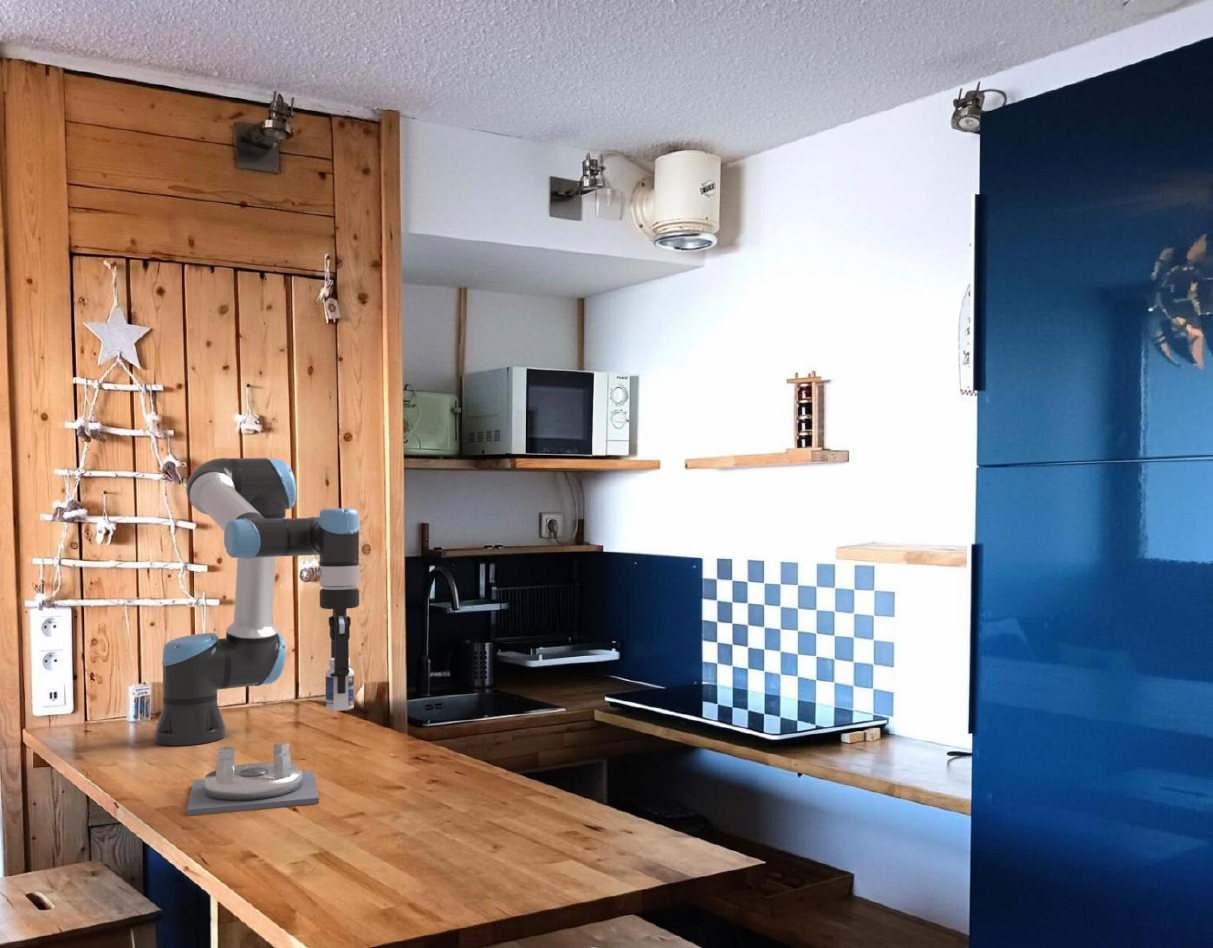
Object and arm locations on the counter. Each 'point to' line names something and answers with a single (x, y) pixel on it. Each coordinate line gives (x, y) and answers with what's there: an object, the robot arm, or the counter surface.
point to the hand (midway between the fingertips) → (339, 706)
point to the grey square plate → (208, 805)
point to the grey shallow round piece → (253, 776)
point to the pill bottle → (331, 687)
